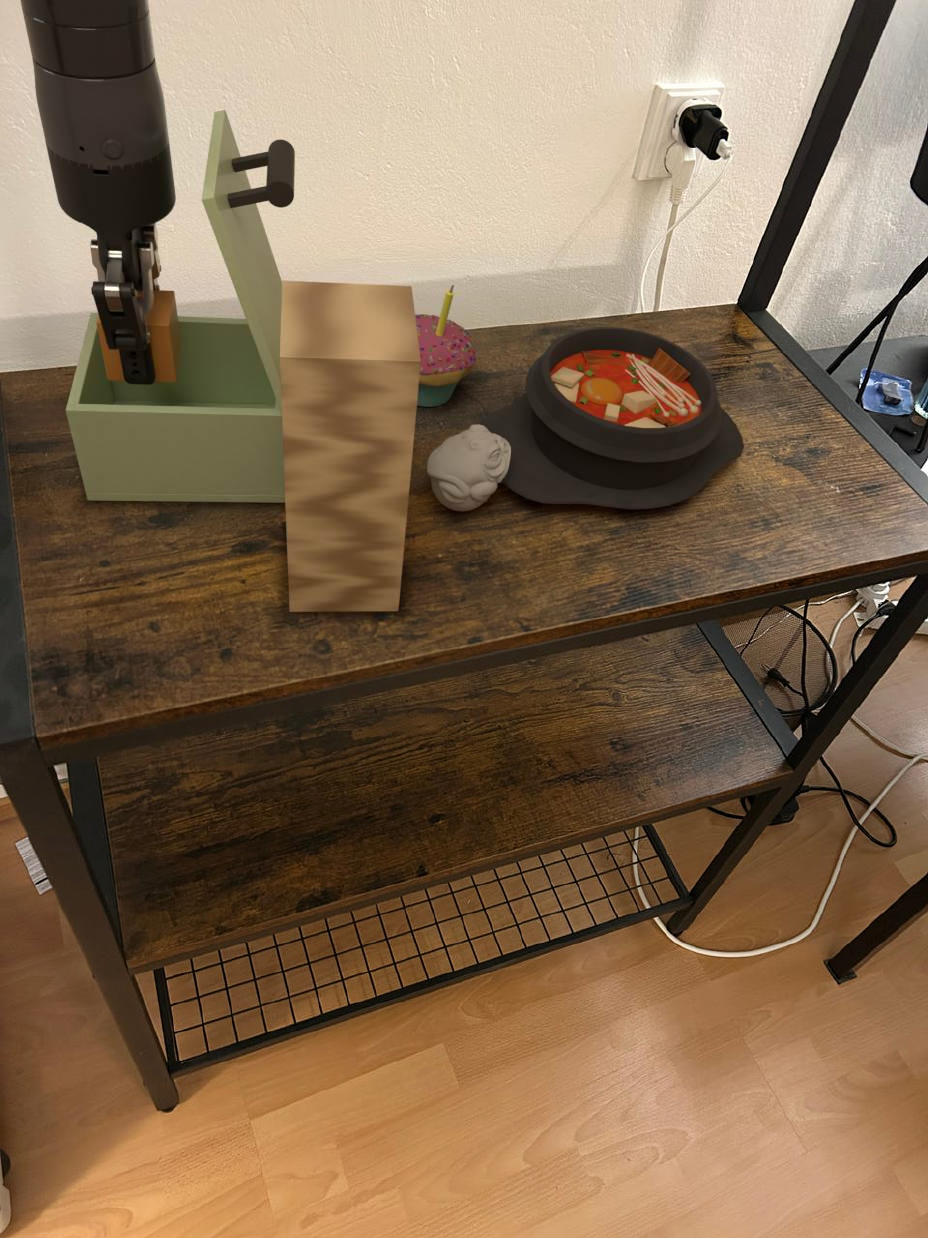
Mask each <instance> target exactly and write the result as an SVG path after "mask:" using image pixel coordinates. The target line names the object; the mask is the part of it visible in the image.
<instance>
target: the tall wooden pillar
mask: <svg viewBox="0 0 928 1238" xmlns="http://www.w3.org/2000/svg"><path fill="white" fill-rule="evenodd" d="M414 302H415V301H414V295H413V288H412V286H411V285H391V284H371V283H370V284H369V283H348V282H347V283H346V282H326V281H325V282H324V281H304V280H303V281H302V280H282V302H281V332H280V377H281V403H282V428H283V454H284V480H285V503H284V504H285V527H286V550H287V551H286V552H287V553H286V555H287V579H288V581H287V582H288V602H289V603H288V606H289V607H288V608H289V612H290V613H308V612H309V613H324V612H325V613H326V612H327V613H328V612H329V613H334V612H335V613H336V612H337V613H338V612H339V613H340V612H341V613H342V612H345V613H346V612H347V613H350V612H354V613H355V612H399V608H400V599H401V598H400V597H401V589H402V588H401V587H402V576H403V566H404V555H405V543H406V532H407V523H408V512H409V511H408V508H409V500H410V499H409V497H410V487H411V478H412V477H411V475H412V466H413V453H414V443H415V432H416V422H417V421H416V419H417V411H418V410H417V409H418V405H417V400H418V389H419V377H420V366H421V358H420V350H419V342H418V334H417V326H416V318H415V315H416V311H415V303H414Z"/></svg>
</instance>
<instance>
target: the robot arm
mask: <svg viewBox="0 0 928 1238" xmlns="http://www.w3.org/2000/svg"><path fill="white" fill-rule="evenodd" d="M20 6H21V11H22V15H23V20H24V24H25V30H26V34H27V40H28V44H29V48H30V54H31V59H32V66H33V74H34V75H33V76H34V88H35V97H36V98H35V99H36V103H37V109H38V113H39V117H40V122H41V127H42V132H43V136H44V142H45V146H46V151H47V155H48V160H49V165H50V170H51V174H52V179H53V184H54V189H55V193H56V198H57V201H58V205H59V207H60V208H61V210H62V211H63V213H64V214H65V215H67V217H69V218H70V219H72V220H73V221H76V222H78V223H80V224H82V225H84V226H86V227H88V228H90V229H91V230H92V231H94V232H95V234H96V239H94V238H93V239H92V238H91V239H90V255H91V263H92V265H93V267H94V268H95V269H96V272H97V273H96V274H97V281H96V280H94V281H93V282H92V286H91V287H90V288H91V289H90V293H91V295H92V297H93V300H94V301H93V302H94V303H95V308H96V311H97V313H98V314H99V318H100V321H101V324H102V328H103V331H104V335H105V338H106V344H107V345H108V348H109V350H117V349H119V354H120V359H121V365H122V370H123V376H124V380H125V381H126V382H127V383H129V384H141V385H151V384H153V383H154V381H155V376H156V374H155V368H154V361H153V355H152V348H151V342H150V339H151V331H150V328H149V318H148V312H149V311H150V310H151V308H152V307H153V305H154V293H153V290H161V286H160V284H159V280H158V278H159V277H160V274H161V272H162V264H161V258H160V254H159V246H158V242H159V241H158V238H159V233H158V228H157V223H158V222H161V221H162V220H163V219H165V218H166V217H167V216H169V215H170V213H171V212H172V211H173V209H174V207H175V205H176V199H177V197H176V188H175V187H176V186H175V178H174V170H173V162H172V154H171V144H170V137H169V129H168V128H169V127H168V120H167V111H166V104H165V103H166V102H165V97H164V91H163V87H162V82H161V79H160V76H159V72H158V67H157V62H156V61H157V60H156V56H155V55H156V54H155V46H154V38H153V31H152V23H151V22H152V21H151V14H150V5H149V0H20ZM137 291H143V296H140V297H138V296H137Z"/></svg>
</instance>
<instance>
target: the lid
mask: <svg viewBox="0 0 928 1238" xmlns="http://www.w3.org/2000/svg"><path fill="white" fill-rule="evenodd" d="M227 113H228V112H227V111H226V109H222V110H217V111H214V113H213V120H212V127H211V133H210V140H209V145H208V146H209V147H208V153H207V160H206V167H205V173H204V181H203V188H202V194H201V202H202V205H203V208H204V210H205V213H206V215H207V218H208V221H209V223H210V226H211V229H212V232H213V234H214V237H215V240H216V242H217V245H218V248H219V250H220V253H221V255H222V258H223V262H224V264H225V266H226V269H227V271H228V272H227V273H228V274H229V277H230V280H231V282H232V285H233V288H234V290H235V293H236V295H237V298H238V301H239V303H240V306H241V309H242V313H243V314H244V317H245V319H246V320H247V323H248V325H249V328H250V331H251V333H252V336H253V339H254V341H255V344H256V347H257V349H258V352H259V355H260V357H261V360H262V363H263V366H264V368H265V371H266V374H267V376H268V379H269V382H270V384H271V387H272V390H273V392H274V395H275V398H276V400H277V403H278V406H279V408H280V411H282V403H281V377H280V332H281V302H282V281H283V279H282V277H281V275H280V271H279V269H278V265H277V262H276V259H275V256H274V254H273V250H272V247H271V245H270V241H269V238H268V235H267V232H266V228H265V226H264V223H263V220H262V216H261V214H260V211H259V207H258V205H257V204H260V203H264V202H268V203H270V204H271V205H272V206H274V207H275V208H280V209H281V208H282V209H283V208H286V207H288V206H290V205H291V204H292V203H293V201H294V199H295V173H296V172H295V171H296V169H295V167H296V152H295V148H294V146H293V145H292V144H291V143H290V142H289V141H287V140H285V139H275V140H274V141H272V142H271V143H269V146H268V150H267V151H263V152H258V153H254V154H249V155H244V156H242V155H241V153H240V150H239V146H238V143H237V141H236V138H235V135H234V132H233V129H232V126H231V123H230V120H229V116H228V114H227ZM263 167H266V183H265V184H266V185H263V186H259V187H254V188H252V186H251V184H250V180H249V177H248V175H247V171H249V170H254V169H258V168H263Z"/></svg>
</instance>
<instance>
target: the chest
mask: <svg viewBox="0 0 928 1238" xmlns="http://www.w3.org/2000/svg"><path fill="white" fill-rule="evenodd" d="M98 315H99V314H98V312H90V315H89V318H88V323H87V326H86V330H85V333H84V334H85V335H84V339H83V342H82V346H81V349H80V354H79V356H78V357H79V358H78V361H77V366H76V369H75V373H74V377H73V381H72V385H71V389H70V393H69V396H68V400H67V404H66V407H65V414H66V418H67V422H68V426H69V430H70V434H71V439H72V442H73V447H74V450H75V455H76V459H77V463H78V466H79V471H80V474H81V475H80V476H81V480H82V483H83V487H84V492H85V495H86V499H87V501H89V502H90V501H91V502H92V501H95V502H96V501H97V502H98V501H99V502H100V501H101V502H177V503H178V502H184V503H190V502H191V503H193V502H194V503H266V504H267V503H269V504H270V503H272V504H274V503H279V504H282V503H283V504H285V480H284V454H283V428H282V411H280V408H279V406H278V403H277V400H276V398H275V395H274V392H273V390H272V387H271V384H270V382H269V379H268V376H267V374H266V371H265V368H264V366H263V363H262V360H261V357H260V355H259V352H258V349H257V347H256V344H255V341H254V339H253V336H252V333H251V331H250V328H249V325H248V323H247V320H246V318H236V317H234V318H233V317H208V316H185V315H184V316H183V315H177V316H178V324H179V332H180V339H181V347H182V348H181V355H180V362H179V368H178V375H177V382H176V383H175V382H154V383H153V384H151V385H141V384H129V383H127V382H126V381H109V380H108V378H107V373H106V368H105V363H104V358H103V353H102V348H101V343H100V338H99V333H98V328H97V319H98Z"/></svg>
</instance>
